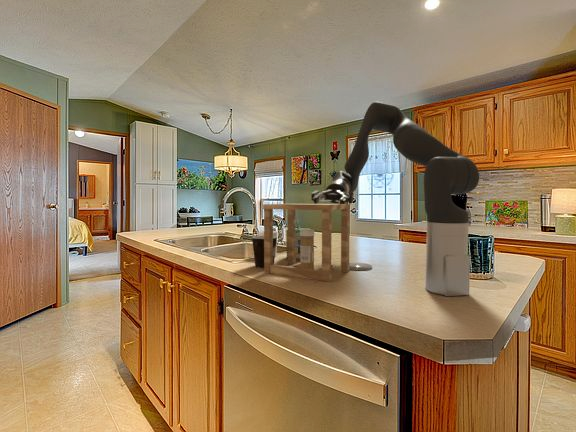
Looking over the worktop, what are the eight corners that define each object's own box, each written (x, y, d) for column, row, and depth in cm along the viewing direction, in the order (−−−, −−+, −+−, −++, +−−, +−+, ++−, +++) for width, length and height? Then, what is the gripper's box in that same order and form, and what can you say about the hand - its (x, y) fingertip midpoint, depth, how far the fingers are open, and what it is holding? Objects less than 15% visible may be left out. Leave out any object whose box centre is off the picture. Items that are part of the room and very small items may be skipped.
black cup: (266, 258, 124) (266, 233, 123) (254, 256, 130) (254, 231, 129) (281, 256, 129) (281, 231, 128) (269, 253, 135) (269, 230, 134)
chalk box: (309, 260, 120) (309, 221, 119) (285, 259, 121) (285, 221, 121) (312, 256, 129) (312, 220, 128) (290, 255, 130) (290, 219, 130)
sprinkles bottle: (317, 271, 101) (317, 229, 100) (307, 274, 98) (307, 230, 97) (306, 269, 104) (306, 228, 104) (296, 271, 101) (296, 229, 100)
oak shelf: (291, 263, 114) (291, 203, 113) (349, 270, 102) (350, 204, 101) (263, 272, 100) (262, 204, 98) (327, 282, 88) (327, 204, 87)
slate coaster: (377, 270, 103) (377, 268, 103) (347, 271, 102) (347, 269, 102) (365, 263, 113) (365, 262, 113) (338, 264, 112) (338, 263, 112)
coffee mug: (265, 262, 116) (265, 235, 116) (282, 266, 110) (282, 237, 109) (239, 267, 108) (239, 238, 107) (255, 271, 102) (255, 240, 101)
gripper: (319, 180, 120) (307, 189, 105) (357, 182, 115) (350, 192, 101) (319, 199, 122) (307, 211, 108) (356, 201, 118) (349, 214, 103)
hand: (328, 201), depth 104 cm, fingers open, 8 cm apart
